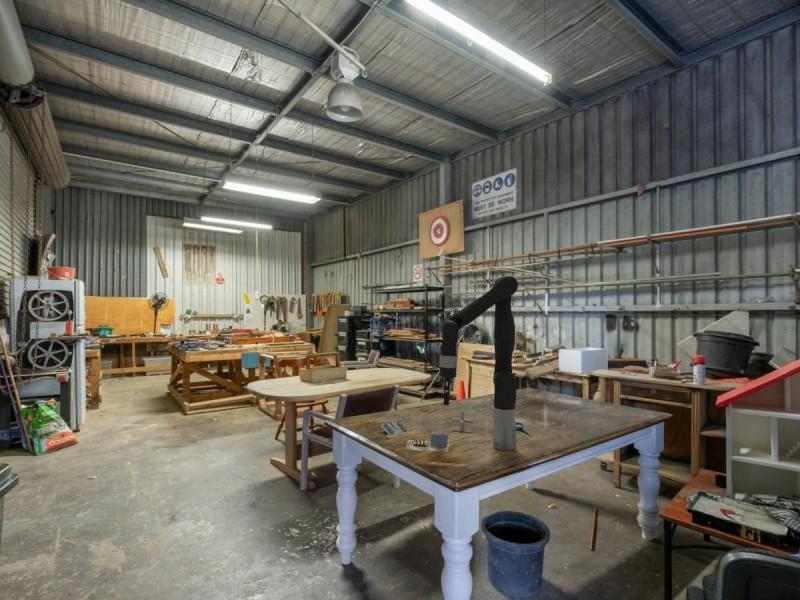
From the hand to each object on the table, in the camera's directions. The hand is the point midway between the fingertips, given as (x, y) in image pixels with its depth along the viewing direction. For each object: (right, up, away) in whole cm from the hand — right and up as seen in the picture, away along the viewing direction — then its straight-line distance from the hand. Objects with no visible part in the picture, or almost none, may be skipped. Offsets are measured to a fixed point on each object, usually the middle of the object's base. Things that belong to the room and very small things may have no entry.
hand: (446, 403), depth 174 cm
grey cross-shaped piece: (+11, -20, +24) cm, 33 cm away
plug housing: (-3, -18, -2) cm, 18 cm away
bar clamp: (+41, -21, +20) cm, 50 cm away
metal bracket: (-23, -20, +19) cm, 36 cm away
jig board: (-9, -19, -3) cm, 21 cm away
